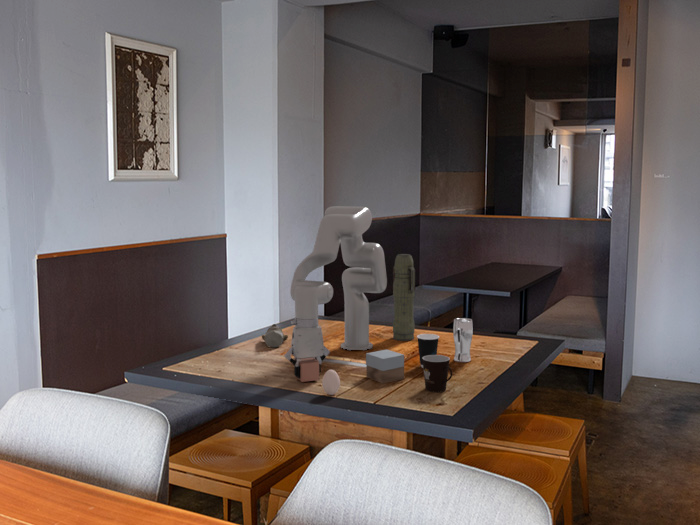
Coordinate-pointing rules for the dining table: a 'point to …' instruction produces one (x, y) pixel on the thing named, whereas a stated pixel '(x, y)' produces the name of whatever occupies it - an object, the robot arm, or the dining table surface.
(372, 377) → the walnut block
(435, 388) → the coffee mug
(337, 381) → the egg
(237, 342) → the dining table surface
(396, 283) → the thermos
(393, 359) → the slate block
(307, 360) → the rust cube
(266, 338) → the ceramic sculpture
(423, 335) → the dixie cup
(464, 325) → the beer glass
